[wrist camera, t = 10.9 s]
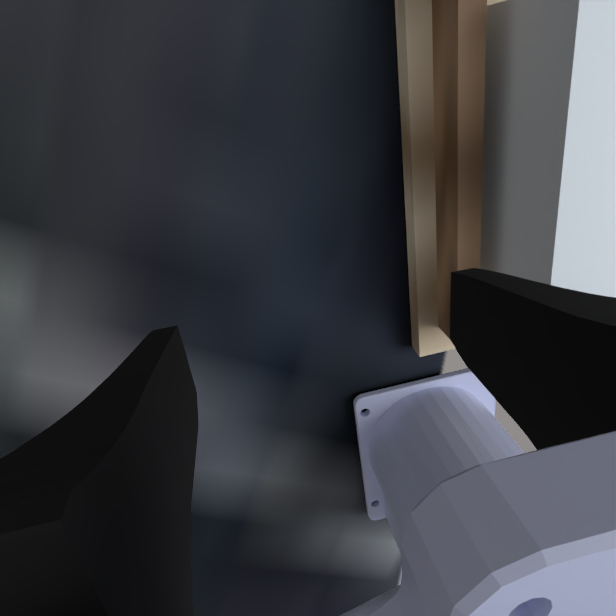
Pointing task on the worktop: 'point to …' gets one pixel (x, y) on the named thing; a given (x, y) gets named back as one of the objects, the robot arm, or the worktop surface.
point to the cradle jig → (440, 152)
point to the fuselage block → (551, 143)
